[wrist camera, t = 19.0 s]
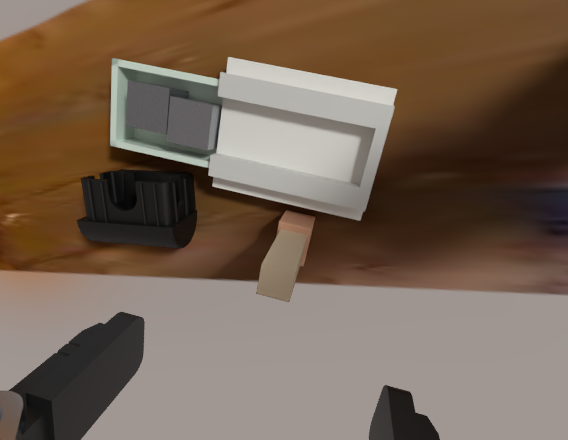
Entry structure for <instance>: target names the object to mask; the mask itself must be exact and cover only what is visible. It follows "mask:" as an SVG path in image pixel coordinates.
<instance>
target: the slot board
mask: <svg viewBox="0 0 568 440" xmlns="http://www.w3.org/2000/svg"><path fill="white" fill-rule="evenodd" d="M396 92H397V89H393V88H388V87H382V86H377V85H372V84H367V83H362V82H356V81H351V80H346V79H341V78H335V77H330V76H325V75H320V74H315V73H309V72H304V71H299V70H294V69H288V68H283V67H278V66H273V65H268V64H262V63H257V62H252V61H247V60H242V59H236V58H231V57H228V63H227V71H226V73H223V72H220V80H219V88H218V96H219V97H223V103H222V111H221V119H220V128H219V136H218V144H217V152H216V153H214V154H211V156H210V165H209V173H208V176H212V177H213V184H212V187H217V188H221V189H225V190H230V191H234V192H238V193H243V194H247V195H251V196H255V197H260V198H264V199H268V200H273V201H277V202H281V203H286V204H290V205H294V206H298V207H303V208H307V209H311V210H316V211H320V212H324V213H329V214H333V215H337V216H341V217H346V218H350V219H354V220H359V221H361V217H362V213H363V211H365V210H366V207H367V203H368V200H369V196H370V193H371V189H372V185H373V182H374V178H375V175H376V171H377V168H378V164H379V161H380V157H381V154H382V150H383V146H384V143H385V139H386V136H387V132H388V129H389V125H390V122H391V118H392V115H393V111H394V108H395V106H393V103H394V99H395V96H396Z"/></svg>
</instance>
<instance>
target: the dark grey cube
mask: <svg viewBox="0 0 568 440" xmlns="http://www.w3.org/2000/svg"><path fill="white" fill-rule="evenodd" d="M170 96H175V97H187V98H189V91H185V90H180V89H175V88H171V87H166V86H161V85H156V84H151V83H144V82H137V81H130V80H128V85H127V113H126V126H129V127H134V128H139V129H143V130H148V131H152V132H157V133H161V134H166V135H167V128H168V116H169V104H170Z"/></svg>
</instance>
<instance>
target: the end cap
mask: <svg viewBox="0 0 568 440" xmlns="http://www.w3.org/2000/svg"><path fill="white" fill-rule="evenodd" d="M99 175H100V179H95V178H94V176H88V177H84V178H81V183H82V189H83V195H84V201H85V207H86V213H87V216H86V217H84V218H81V219H79V220H77V223H78V227H79V229H80V231H81V233H82V234H83V235H84V236H85V237H86V238H87V239H89V240H91V241H97V242H109V243H121V244H133V245H145V246H157V247H169V248H184V247H185V246H187V245H188V244H189V243H190V241H191V239H192V237H193V235H194V232H195V228H196V222H197V210H195V208H196V207H195V191H194V178H193V175H192V174H191V173H188V172H168V171H146V170H124V169H121V170H117V171H108V172H104V173H100V174H99Z"/></svg>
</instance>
